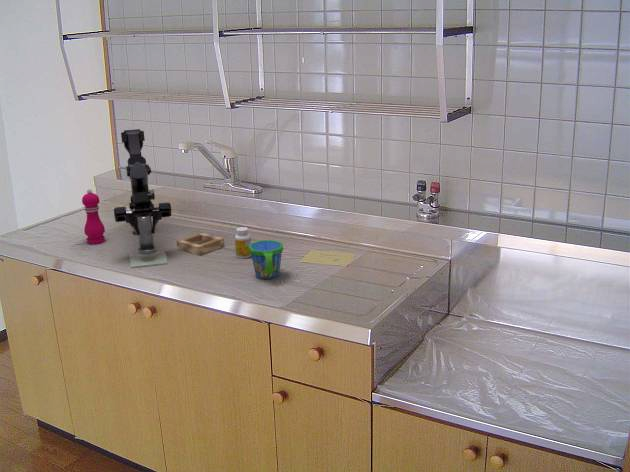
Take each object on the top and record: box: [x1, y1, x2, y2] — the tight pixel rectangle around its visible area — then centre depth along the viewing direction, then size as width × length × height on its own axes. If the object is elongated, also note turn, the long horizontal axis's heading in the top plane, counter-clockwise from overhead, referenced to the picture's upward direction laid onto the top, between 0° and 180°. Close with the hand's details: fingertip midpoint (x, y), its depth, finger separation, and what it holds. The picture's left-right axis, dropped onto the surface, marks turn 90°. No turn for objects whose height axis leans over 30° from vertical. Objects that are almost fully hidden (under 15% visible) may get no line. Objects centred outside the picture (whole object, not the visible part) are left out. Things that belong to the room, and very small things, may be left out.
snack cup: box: [249, 239, 284, 280], centre depth 219 cm, size 16×10×10 cm
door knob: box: [136, 214, 158, 254], centre depth 234 cm, size 6×6×12 cm
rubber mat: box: [129, 250, 169, 269], centre depth 237 cm, size 12×12×1 cm
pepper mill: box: [81, 188, 106, 245], centre depth 254 cm, size 7×7×20 cm
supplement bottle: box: [234, 226, 252, 259], centre depth 237 cm, size 5×5×10 cm
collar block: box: [176, 232, 225, 257], centre depth 248 cm, size 12×12×3 cm
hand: (145, 234), depth 233 cm, fingers closed on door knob, 5 cm apart
